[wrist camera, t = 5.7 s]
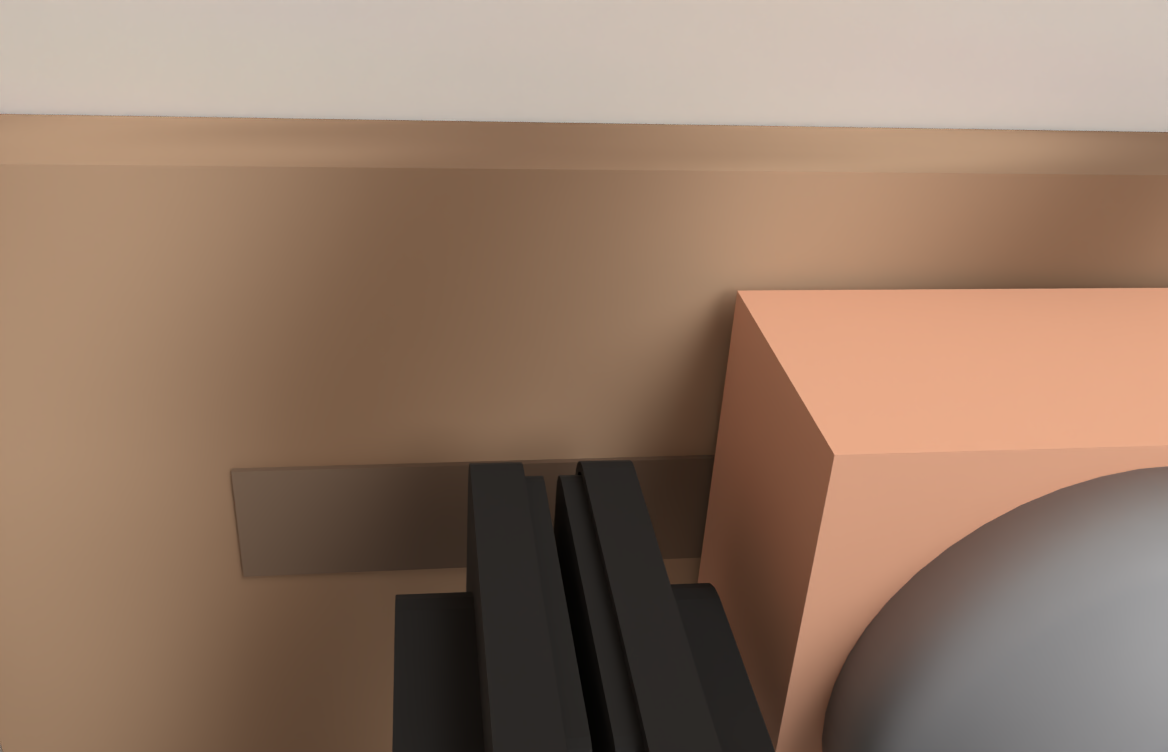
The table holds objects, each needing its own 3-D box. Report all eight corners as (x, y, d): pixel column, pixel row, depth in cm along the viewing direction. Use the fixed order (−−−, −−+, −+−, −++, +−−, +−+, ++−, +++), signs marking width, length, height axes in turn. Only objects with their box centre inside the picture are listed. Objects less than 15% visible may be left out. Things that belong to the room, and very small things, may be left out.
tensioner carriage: (1272, 286, 12) (1719, 571, 8) (1121, 668, 15) (1395, 1027, 11) (737, 290, 11) (926, 609, 7) (681, 696, 14) (795, 1095, 10)
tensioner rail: (1903, 143, 14) (2851, 401, 9) (1593, 616, 18) (2114, 1002, 13) (-96, 112, 11) (-626, 502, 5) (49, 703, 15) (-169, 1286, 9)
